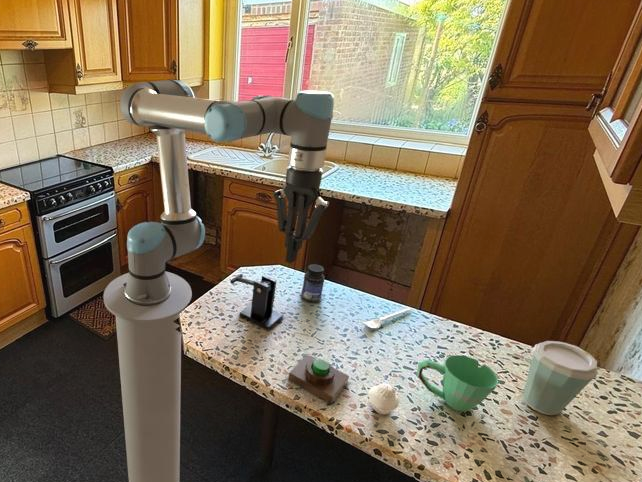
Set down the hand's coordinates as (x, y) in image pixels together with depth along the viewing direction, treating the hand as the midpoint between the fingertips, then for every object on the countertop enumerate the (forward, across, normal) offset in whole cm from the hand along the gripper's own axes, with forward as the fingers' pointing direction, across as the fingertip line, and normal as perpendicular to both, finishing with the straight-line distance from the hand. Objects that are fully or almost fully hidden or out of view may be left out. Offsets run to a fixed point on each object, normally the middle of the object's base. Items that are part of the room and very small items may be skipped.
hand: (290, 260), depth 98 cm
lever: (+17, -14, +7) cm, 24 cm away
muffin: (+27, +28, -3) cm, 39 cm away
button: (+23, +14, -5) cm, 27 cm away
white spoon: (+27, +18, +32) cm, 45 cm away
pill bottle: (+27, -4, +27) cm, 38 cm away
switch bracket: (+26, -10, +7) cm, 29 cm away
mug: (+27, +38, +10) cm, 47 cm away
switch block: (+26, +14, -5) cm, 30 cm away
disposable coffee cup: (+27, +54, +24) cm, 65 cm away
